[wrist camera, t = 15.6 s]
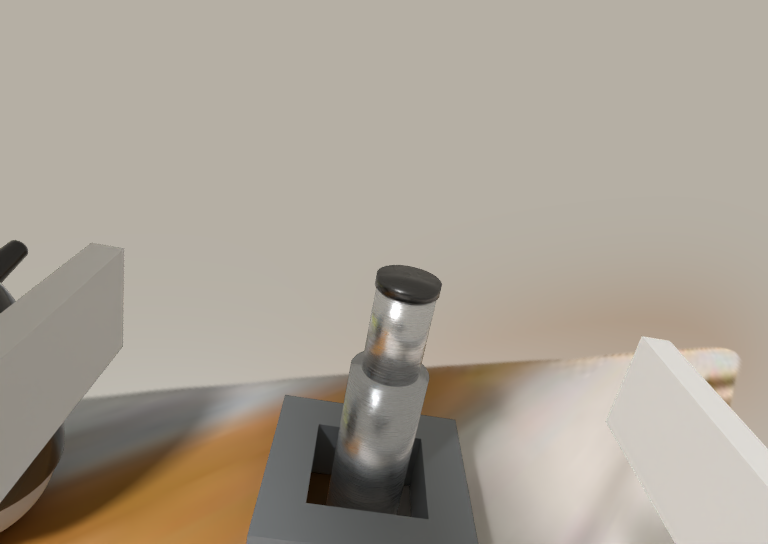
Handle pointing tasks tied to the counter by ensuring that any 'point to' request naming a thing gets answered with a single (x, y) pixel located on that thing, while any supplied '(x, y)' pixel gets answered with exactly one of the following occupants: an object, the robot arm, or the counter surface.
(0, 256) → the dark grey egg shape
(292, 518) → the socket block
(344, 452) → the tube
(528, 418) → the counter surface
